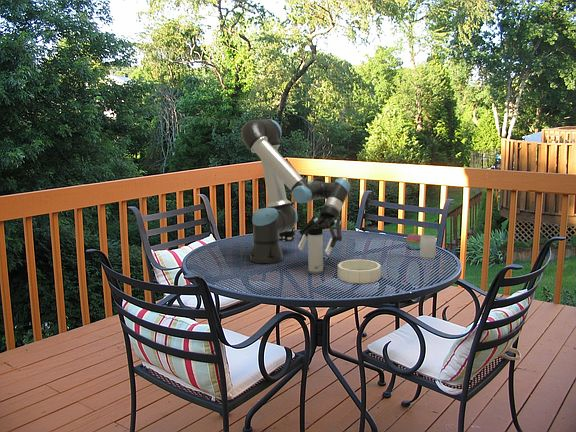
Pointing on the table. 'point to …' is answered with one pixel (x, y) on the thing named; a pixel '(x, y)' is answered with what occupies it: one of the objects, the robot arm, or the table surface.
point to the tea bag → (428, 246)
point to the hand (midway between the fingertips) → (313, 251)
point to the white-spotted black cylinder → (288, 232)
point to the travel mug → (315, 249)
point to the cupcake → (414, 240)
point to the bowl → (359, 271)
